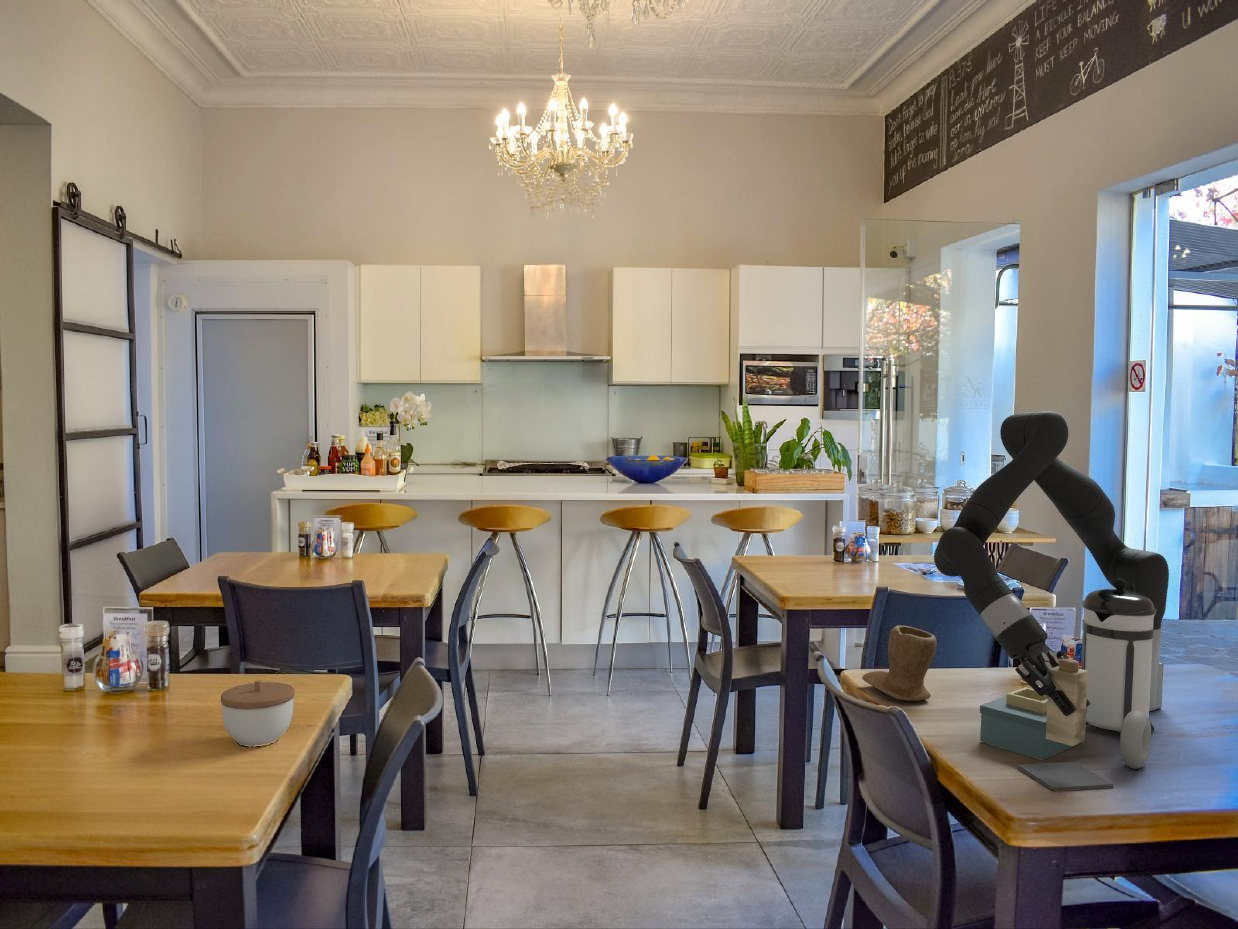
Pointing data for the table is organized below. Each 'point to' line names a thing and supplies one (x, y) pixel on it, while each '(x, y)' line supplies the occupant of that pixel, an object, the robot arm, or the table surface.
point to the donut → (1135, 739)
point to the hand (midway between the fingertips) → (1078, 710)
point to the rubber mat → (1065, 776)
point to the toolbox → (1019, 724)
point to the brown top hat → (905, 664)
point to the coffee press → (1117, 654)
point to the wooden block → (1075, 689)
